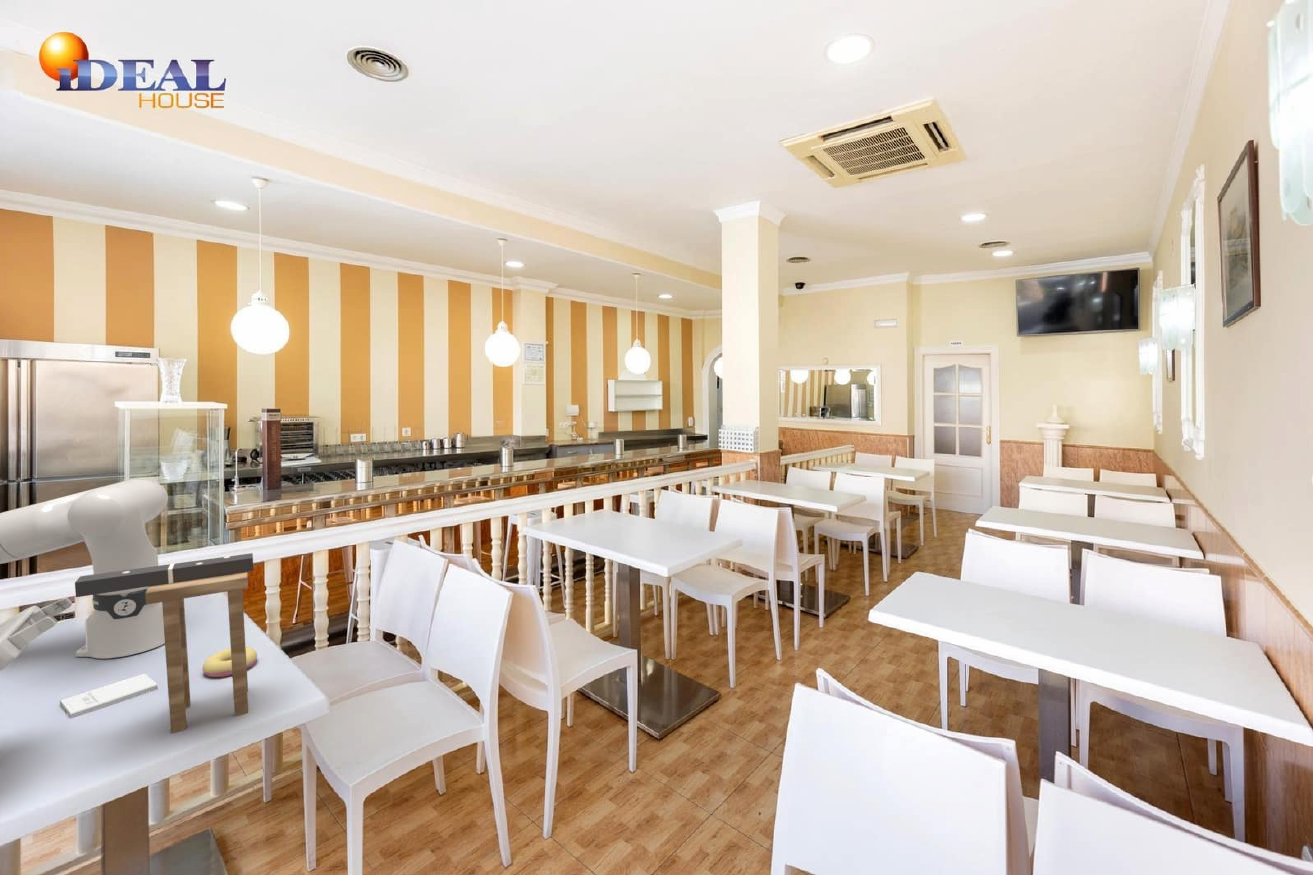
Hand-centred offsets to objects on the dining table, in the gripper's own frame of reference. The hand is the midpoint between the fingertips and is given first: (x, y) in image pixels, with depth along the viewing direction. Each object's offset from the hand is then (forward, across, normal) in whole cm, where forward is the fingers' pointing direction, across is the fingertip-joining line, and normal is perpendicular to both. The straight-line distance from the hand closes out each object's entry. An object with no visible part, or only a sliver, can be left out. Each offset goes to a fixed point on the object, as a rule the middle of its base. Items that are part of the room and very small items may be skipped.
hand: (61, 610), depth 93 cm
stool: (+4, -1, -30) cm, 30 cm away
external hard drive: (-11, -18, -22) cm, 30 cm away
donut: (+6, -19, -32) cm, 37 cm away
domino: (+13, -1, -5) cm, 14 cm away
